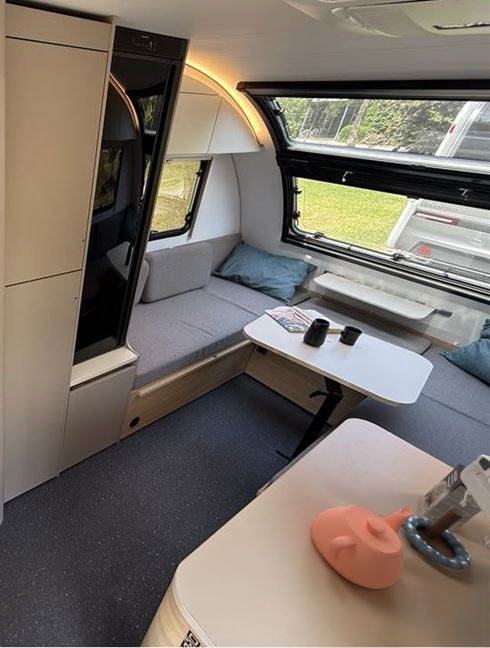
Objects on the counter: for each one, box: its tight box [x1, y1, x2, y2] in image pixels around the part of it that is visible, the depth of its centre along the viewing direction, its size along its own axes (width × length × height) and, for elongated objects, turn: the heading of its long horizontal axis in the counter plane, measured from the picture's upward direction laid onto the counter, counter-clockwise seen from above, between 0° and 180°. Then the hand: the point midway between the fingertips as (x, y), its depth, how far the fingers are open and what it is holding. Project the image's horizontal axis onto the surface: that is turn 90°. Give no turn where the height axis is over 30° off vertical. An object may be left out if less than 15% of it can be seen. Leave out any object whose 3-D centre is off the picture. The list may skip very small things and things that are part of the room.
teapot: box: [310, 506, 413, 590], centre depth 86 cm, size 25×17×13 cm
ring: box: [402, 515, 472, 571], centre depth 91 cm, size 12×12×2 cm
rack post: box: [401, 507, 464, 558], centre depth 91 cm, size 9×9×12 cm
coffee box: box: [422, 463, 482, 533], centre depth 96 cm, size 9×6×16 cm
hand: (475, 525), depth 83 cm, fingers open, 8 cm apart
